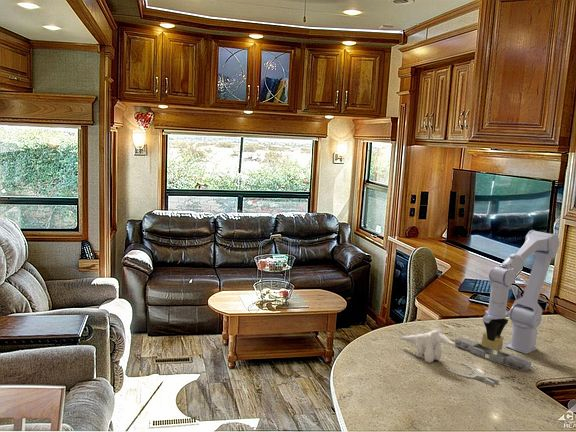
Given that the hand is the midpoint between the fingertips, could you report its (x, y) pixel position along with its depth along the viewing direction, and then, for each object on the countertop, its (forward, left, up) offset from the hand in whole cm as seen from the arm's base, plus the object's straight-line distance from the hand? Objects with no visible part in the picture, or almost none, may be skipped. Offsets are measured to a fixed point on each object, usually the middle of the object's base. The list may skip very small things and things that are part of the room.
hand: (493, 339), depth 182 cm
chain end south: (0, -7, -6) cm, 10 cm away
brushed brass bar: (0, 0, -3) cm, 3 cm away
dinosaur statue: (+22, -13, -7) cm, 26 cm away
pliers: (+20, +5, -7) cm, 22 cm away
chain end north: (0, +7, -6) cm, 10 cm away
